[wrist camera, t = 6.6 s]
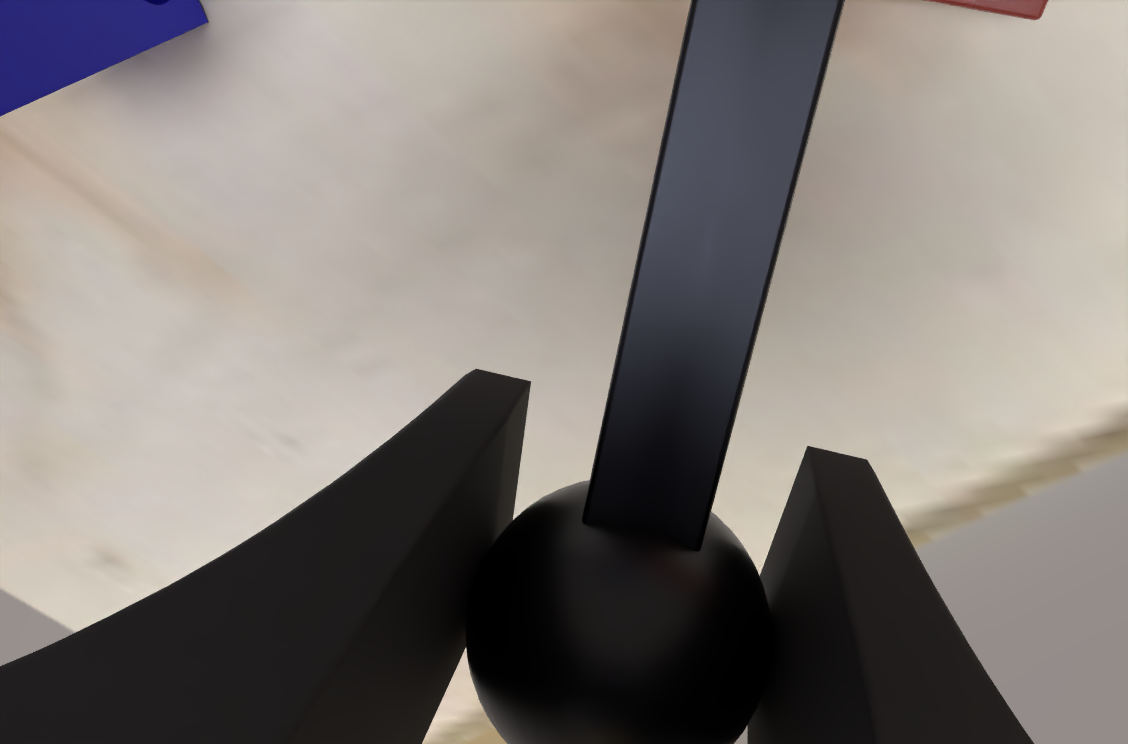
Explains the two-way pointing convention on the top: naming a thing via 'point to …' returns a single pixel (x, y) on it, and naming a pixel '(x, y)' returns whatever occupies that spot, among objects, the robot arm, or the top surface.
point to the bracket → (1002, 6)
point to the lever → (665, 428)
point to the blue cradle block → (79, 40)
